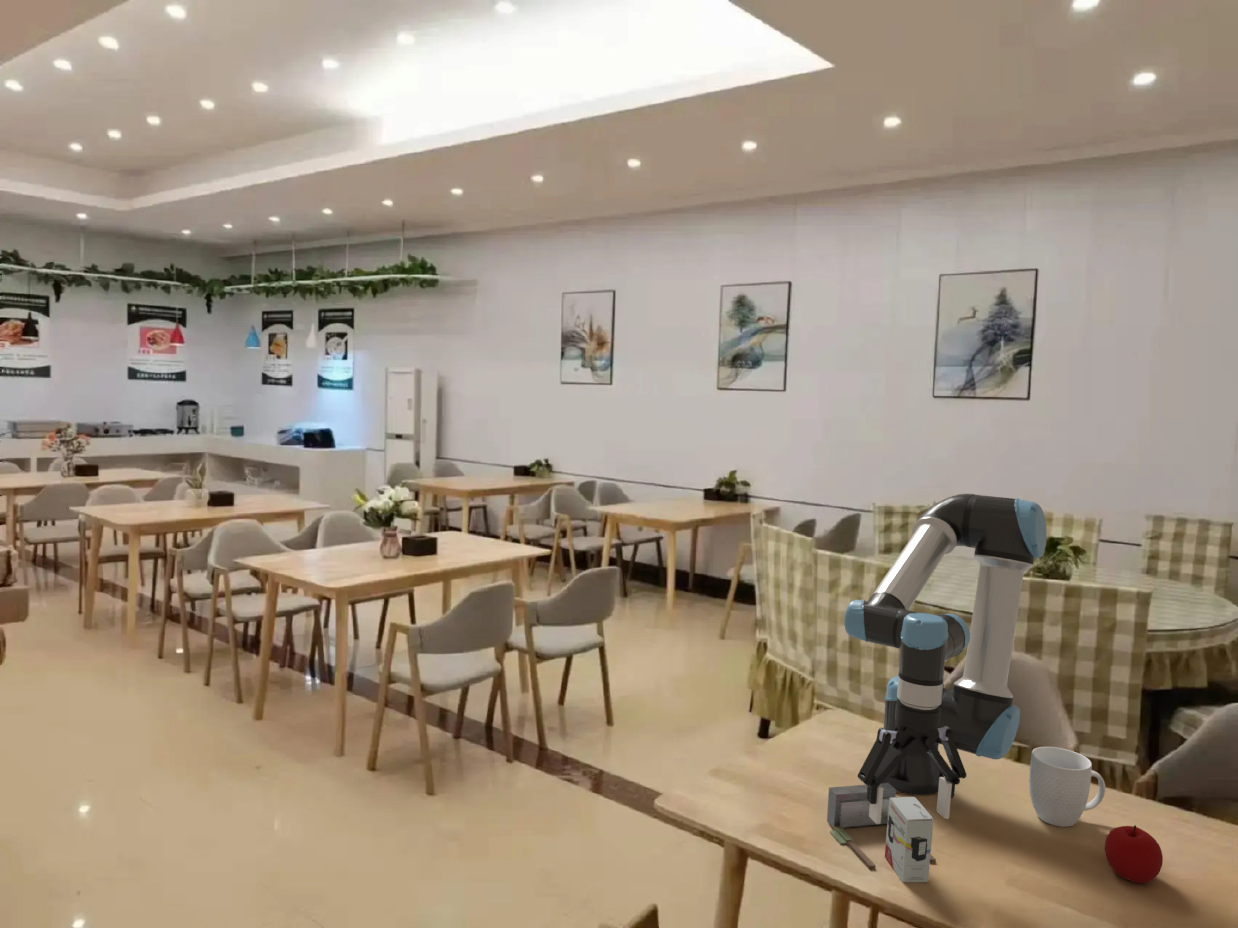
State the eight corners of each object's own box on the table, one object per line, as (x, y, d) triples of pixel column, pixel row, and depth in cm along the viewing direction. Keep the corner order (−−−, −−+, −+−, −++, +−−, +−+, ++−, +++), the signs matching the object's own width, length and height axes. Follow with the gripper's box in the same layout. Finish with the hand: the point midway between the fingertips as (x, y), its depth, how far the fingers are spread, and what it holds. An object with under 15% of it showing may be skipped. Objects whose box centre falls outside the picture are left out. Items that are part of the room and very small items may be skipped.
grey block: (885, 815, 176) (888, 782, 175) (895, 824, 173) (897, 791, 172) (826, 821, 173) (829, 787, 172) (835, 830, 170) (837, 796, 169)
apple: (1173, 887, 155) (1178, 833, 154) (1132, 894, 152) (1138, 839, 151) (1129, 859, 163) (1134, 808, 162) (1090, 865, 161) (1095, 813, 160)
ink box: (883, 856, 161) (887, 795, 160) (909, 855, 162) (913, 795, 160) (902, 883, 153) (907, 819, 151) (929, 882, 153) (934, 819, 152)
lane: (900, 822, 173) (900, 819, 173) (941, 861, 160) (941, 857, 160) (827, 829, 170) (827, 825, 170) (863, 869, 156) (863, 865, 156)
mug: (1085, 806, 183) (1091, 747, 182) (1116, 834, 172) (1123, 771, 171) (1015, 805, 183) (1021, 745, 181) (1043, 832, 172) (1048, 769, 170)
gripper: (967, 692, 160) (957, 803, 162) (844, 697, 155) (835, 811, 156) (993, 707, 153) (983, 823, 155) (865, 713, 147) (855, 833, 149)
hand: (908, 817), depth 156 cm, fingers open, 13 cm apart
